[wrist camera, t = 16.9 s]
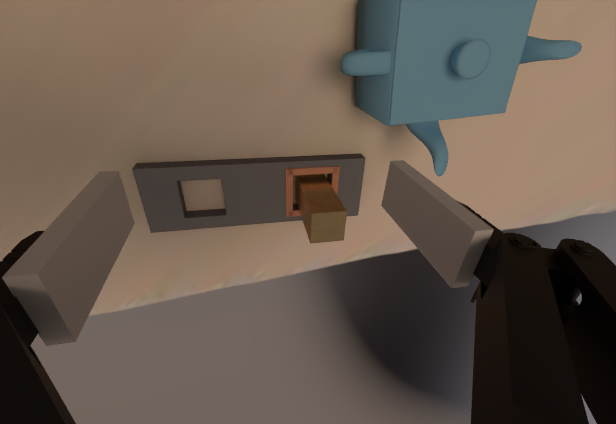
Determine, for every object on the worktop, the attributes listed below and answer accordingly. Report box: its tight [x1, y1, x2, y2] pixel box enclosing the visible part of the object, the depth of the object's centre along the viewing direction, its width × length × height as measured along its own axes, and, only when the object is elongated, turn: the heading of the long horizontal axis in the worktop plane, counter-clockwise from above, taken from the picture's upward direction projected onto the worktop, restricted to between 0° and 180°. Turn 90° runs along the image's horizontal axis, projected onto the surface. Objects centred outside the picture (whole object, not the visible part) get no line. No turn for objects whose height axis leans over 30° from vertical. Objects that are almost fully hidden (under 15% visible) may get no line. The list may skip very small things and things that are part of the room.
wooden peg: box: [295, 174, 347, 243], centre depth 42 cm, size 4×4×12 cm
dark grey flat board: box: [132, 154, 365, 233], centre depth 45 cm, size 32×10×2 cm, turn 88°
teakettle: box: [340, 0, 582, 176], centre depth 33 cm, size 19×19×15 cm
